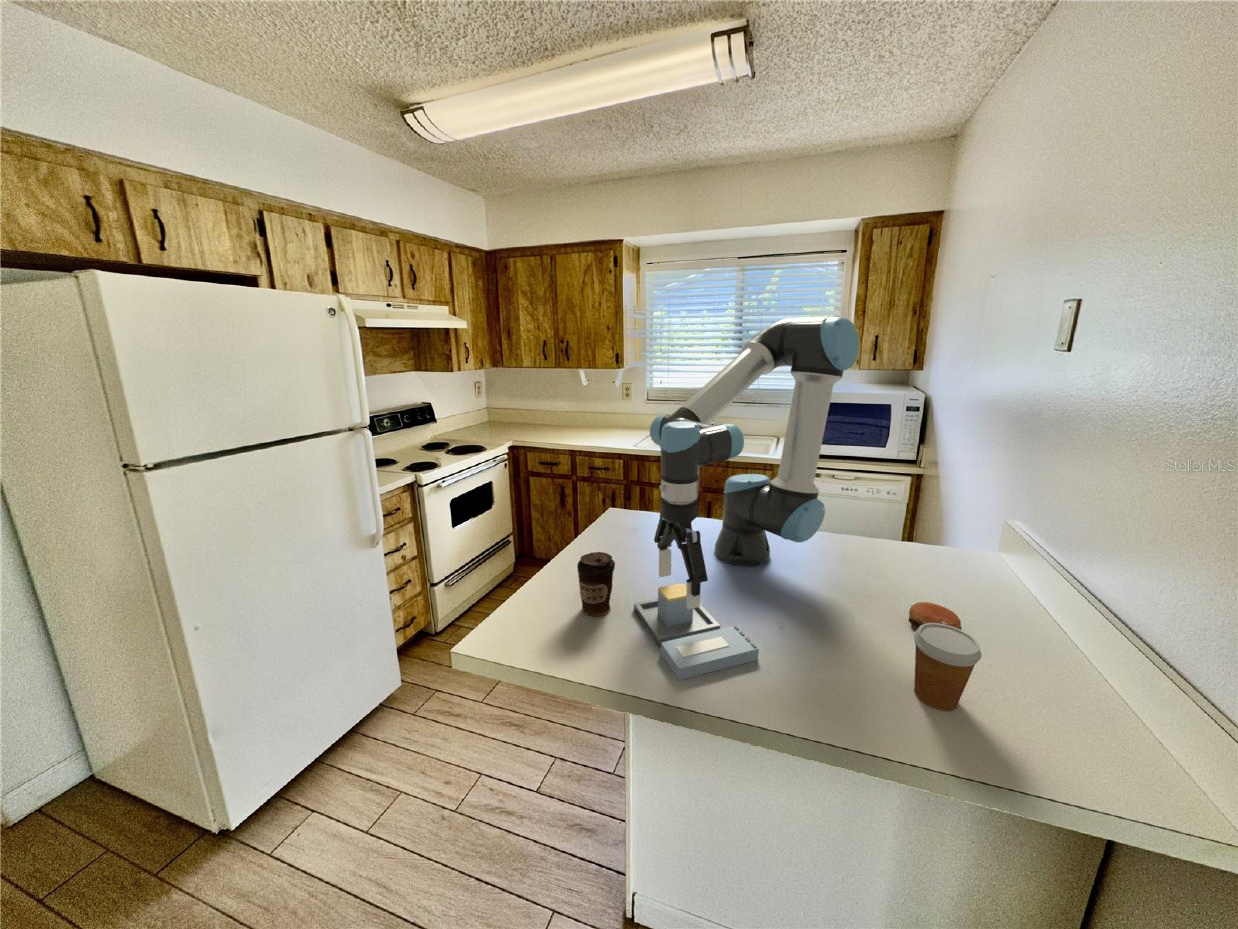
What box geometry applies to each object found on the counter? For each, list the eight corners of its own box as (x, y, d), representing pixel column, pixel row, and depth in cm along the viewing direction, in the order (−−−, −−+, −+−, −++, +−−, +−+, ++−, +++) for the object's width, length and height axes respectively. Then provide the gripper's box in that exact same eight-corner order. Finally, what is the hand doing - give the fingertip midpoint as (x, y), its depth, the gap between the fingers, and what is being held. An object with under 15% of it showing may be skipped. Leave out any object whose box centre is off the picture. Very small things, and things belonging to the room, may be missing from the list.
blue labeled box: (735, 635, 101) (736, 624, 100) (758, 659, 93) (759, 647, 93) (660, 653, 95) (661, 641, 94) (678, 680, 88) (679, 667, 87)
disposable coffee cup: (892, 680, 88) (902, 622, 85) (941, 677, 89) (953, 620, 85) (928, 720, 79) (941, 658, 75) (983, 717, 79) (998, 654, 76)
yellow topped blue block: (682, 609, 109) (683, 583, 107) (692, 621, 104) (693, 594, 102) (657, 614, 107) (658, 587, 105) (667, 626, 102) (668, 599, 100)
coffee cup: (610, 622, 105) (609, 569, 101) (573, 618, 107) (571, 565, 103) (618, 601, 113) (618, 551, 110) (584, 597, 115) (582, 547, 111)
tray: (688, 598, 114) (689, 592, 114) (719, 632, 102) (720, 625, 101) (633, 610, 110) (634, 603, 109) (658, 646, 97) (659, 639, 97)
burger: (934, 614, 108) (938, 596, 107) (970, 639, 99) (975, 620, 98) (895, 619, 106) (899, 600, 105) (929, 646, 98) (933, 626, 96)
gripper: (639, 482, 108) (640, 567, 114) (691, 524, 85) (689, 627, 91) (669, 478, 110) (669, 561, 116) (728, 517, 88) (723, 618, 94)
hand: (678, 590), depth 104 cm, fingers open, 13 cm apart
